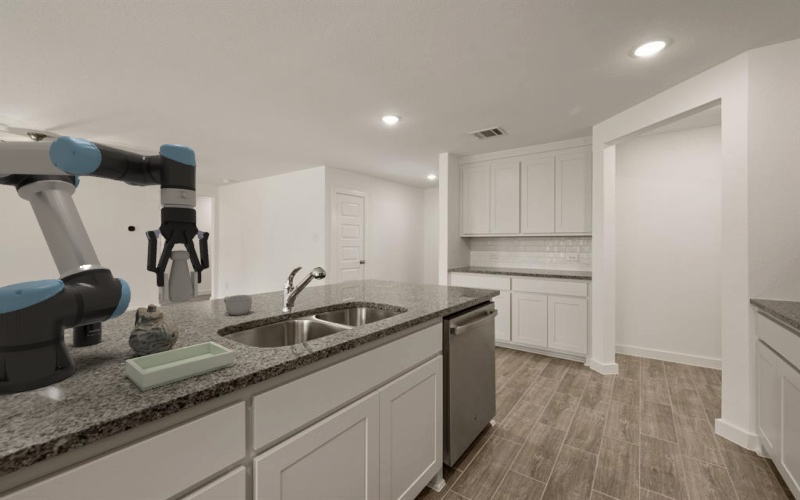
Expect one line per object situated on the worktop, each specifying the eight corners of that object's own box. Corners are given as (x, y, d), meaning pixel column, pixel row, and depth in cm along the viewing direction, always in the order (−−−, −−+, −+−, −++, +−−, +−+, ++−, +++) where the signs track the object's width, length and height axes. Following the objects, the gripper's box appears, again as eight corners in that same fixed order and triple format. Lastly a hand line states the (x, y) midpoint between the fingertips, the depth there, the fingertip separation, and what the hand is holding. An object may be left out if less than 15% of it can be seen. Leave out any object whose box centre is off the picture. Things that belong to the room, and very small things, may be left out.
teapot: (193, 355, 96) (193, 304, 96) (147, 368, 86) (146, 311, 86) (158, 343, 107) (157, 297, 107) (113, 353, 97) (112, 303, 97)
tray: (143, 391, 73) (142, 374, 73) (125, 375, 82) (125, 360, 82) (234, 365, 89) (233, 351, 89) (211, 353, 98) (211, 341, 97)
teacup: (256, 313, 151) (256, 296, 151) (234, 318, 142) (234, 299, 142) (239, 309, 159) (238, 293, 158) (216, 313, 150) (216, 296, 149)
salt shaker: (160, 303, 82) (159, 250, 81) (176, 298, 87) (176, 250, 87) (183, 303, 81) (182, 251, 81) (198, 299, 87) (197, 250, 87)
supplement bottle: (96, 345, 104) (95, 308, 104) (68, 348, 102) (67, 309, 101) (106, 339, 110) (105, 304, 110) (79, 341, 108) (79, 305, 108)
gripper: (136, 203, 74) (138, 305, 75) (223, 209, 89) (224, 294, 89) (128, 205, 79) (129, 301, 79) (212, 211, 93) (213, 292, 94)
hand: (180, 297), depth 84 cm, fingers closed on salt shaker, 6 cm apart
